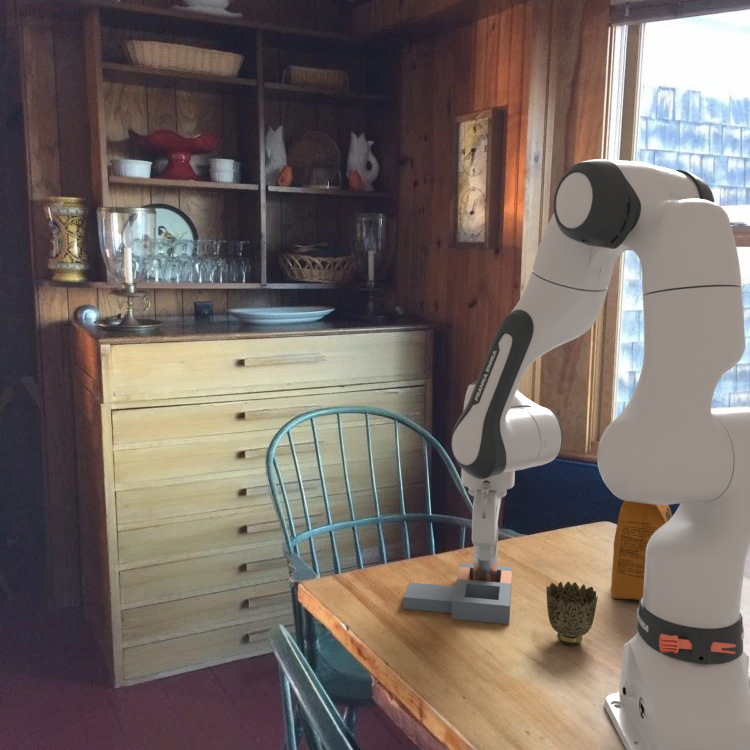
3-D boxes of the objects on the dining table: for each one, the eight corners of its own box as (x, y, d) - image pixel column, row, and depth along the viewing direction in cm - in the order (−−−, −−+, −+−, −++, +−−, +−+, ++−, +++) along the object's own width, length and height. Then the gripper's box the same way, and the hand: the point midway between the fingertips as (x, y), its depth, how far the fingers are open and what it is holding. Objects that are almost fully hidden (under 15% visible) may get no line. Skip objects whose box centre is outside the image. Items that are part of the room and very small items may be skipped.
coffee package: (679, 586, 139) (688, 463, 136) (664, 612, 129) (672, 480, 126) (622, 574, 144) (628, 455, 141) (602, 598, 134) (609, 471, 131)
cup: (596, 656, 114) (599, 604, 113) (544, 651, 116) (546, 599, 115) (593, 633, 122) (596, 583, 120) (544, 628, 123) (546, 578, 122)
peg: (496, 587, 134) (497, 530, 132) (472, 585, 134) (473, 528, 133) (497, 578, 137) (498, 522, 136) (473, 576, 138) (475, 520, 137)
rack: (509, 624, 124) (509, 606, 124) (401, 614, 127) (401, 596, 127) (511, 583, 140) (512, 567, 139) (415, 575, 143) (415, 559, 143)
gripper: (505, 492, 122) (502, 578, 124) (508, 460, 142) (506, 534, 144) (463, 490, 124) (461, 575, 126) (473, 458, 144) (471, 532, 146)
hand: (485, 553), depth 135 cm, fingers closed on peg, 4 cm apart
